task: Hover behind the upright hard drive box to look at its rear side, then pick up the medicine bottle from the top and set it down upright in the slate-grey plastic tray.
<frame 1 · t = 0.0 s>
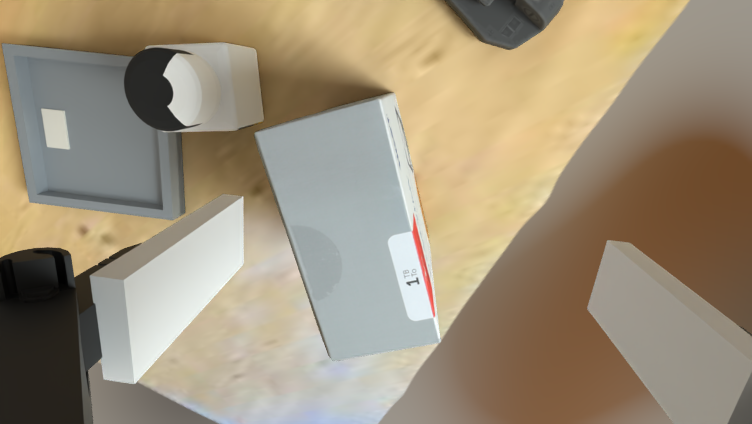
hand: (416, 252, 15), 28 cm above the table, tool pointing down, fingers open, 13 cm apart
medicine bottle: (227, 87, 42), on the table
hard drive box: (378, 172, 43), on the table
tray: (108, 133, 44), on the table
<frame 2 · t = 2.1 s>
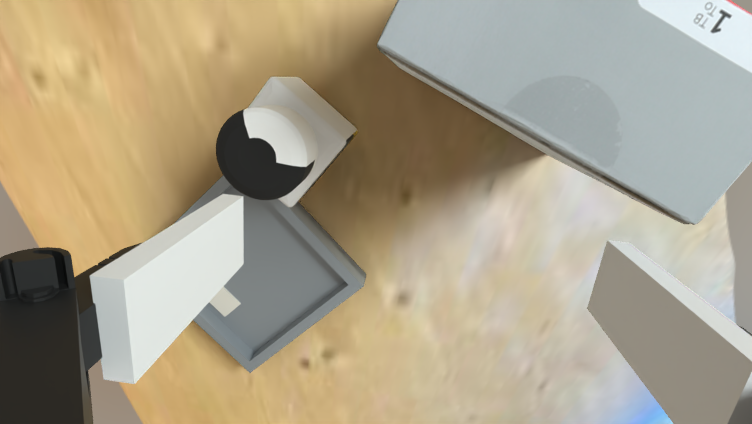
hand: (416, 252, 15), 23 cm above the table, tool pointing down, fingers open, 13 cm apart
medicine bottle: (305, 133, 38), on the table
hard drive box: (497, 70, 35), on the table
tray: (255, 263, 42), on the table
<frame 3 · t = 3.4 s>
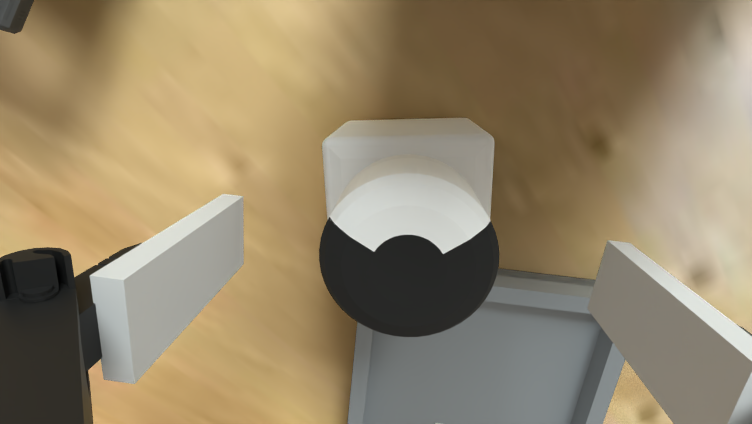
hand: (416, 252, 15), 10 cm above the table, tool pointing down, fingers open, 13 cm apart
medicine bottle: (407, 178, 25), on the table
tray: (471, 372, 29), on the table
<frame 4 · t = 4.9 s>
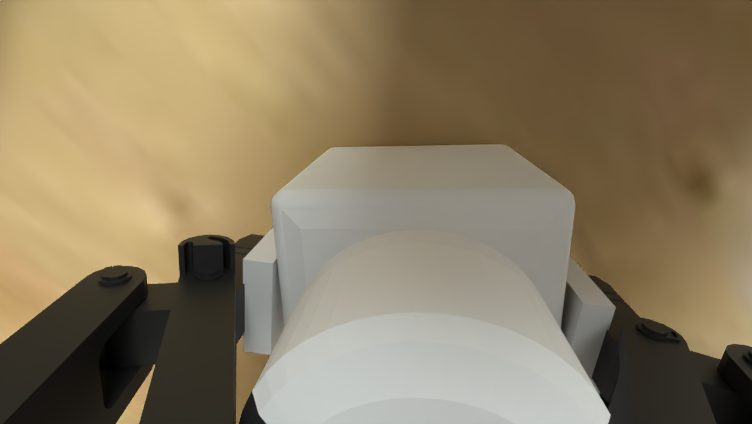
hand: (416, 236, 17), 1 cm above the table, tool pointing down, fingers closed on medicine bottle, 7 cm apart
medicine bottle: (416, 228, 17), on the table, touching gripper
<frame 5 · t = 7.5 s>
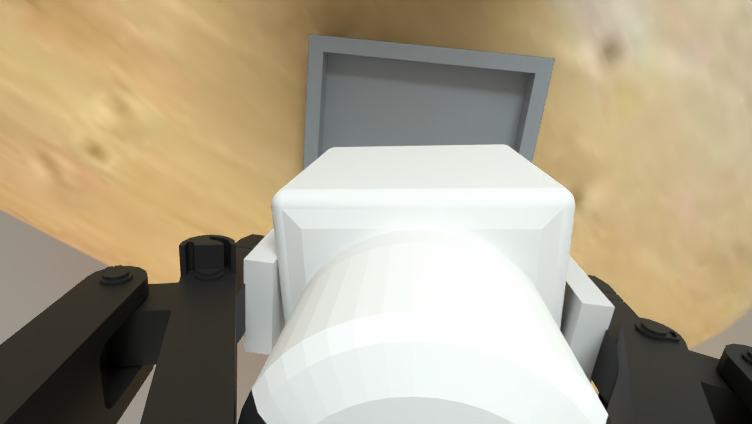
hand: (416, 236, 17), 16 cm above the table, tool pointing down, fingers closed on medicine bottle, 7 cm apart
medicine bottle: (417, 228, 17), point 15 cm above the table, touching gripper
tray: (414, 159, 32), on the table
when the fingers open (3 cm above the table, at t = 10.1 s): medicine bottle drops 1 cm, resting on tray.
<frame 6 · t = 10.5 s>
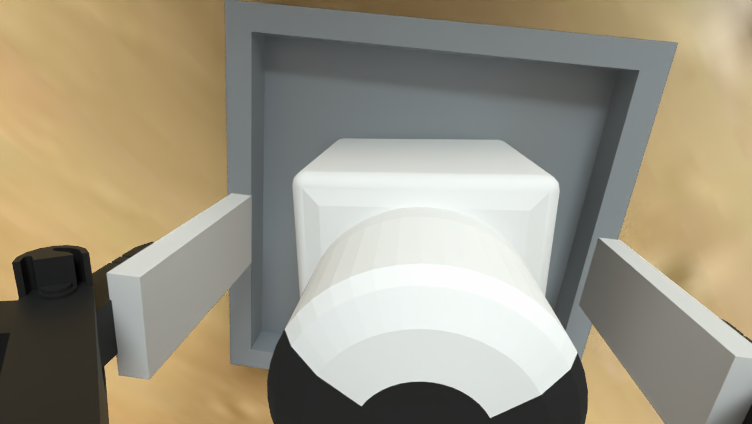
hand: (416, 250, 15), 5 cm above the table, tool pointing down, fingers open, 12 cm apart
medicine bottle: (417, 216, 19), point 1 cm above the table, touching tray
tray: (415, 212, 20), on the table
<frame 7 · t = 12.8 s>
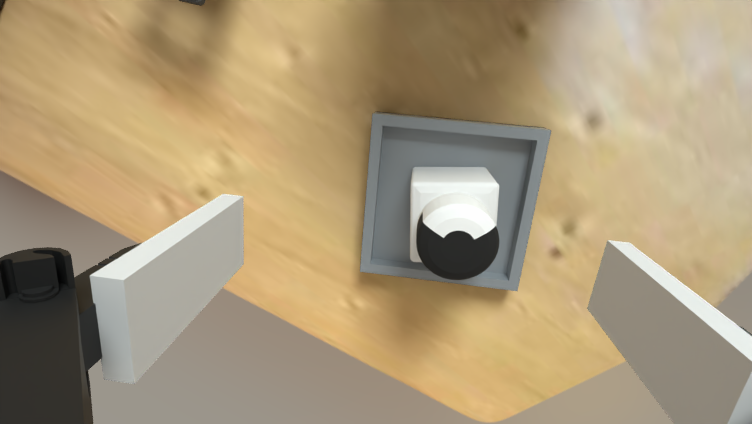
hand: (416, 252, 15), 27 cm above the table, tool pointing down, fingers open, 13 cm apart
medicine bottle: (447, 201, 41), point 1 cm above the table, touching tray
tray: (446, 199, 42), on the table
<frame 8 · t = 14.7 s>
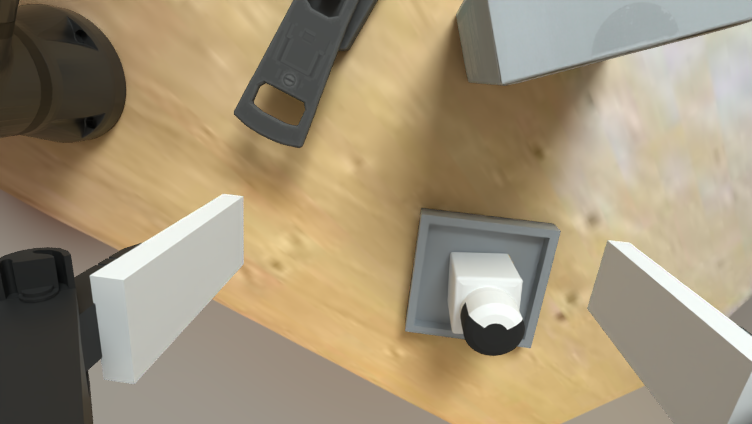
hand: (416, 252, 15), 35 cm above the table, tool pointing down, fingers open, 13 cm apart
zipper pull: (325, 27, 46), on the table
medicine bottle: (476, 277, 52), point 1 cm above the table, touching tray
hard drive box: (532, 29, 44), on the table
tray: (475, 274, 53), on the table
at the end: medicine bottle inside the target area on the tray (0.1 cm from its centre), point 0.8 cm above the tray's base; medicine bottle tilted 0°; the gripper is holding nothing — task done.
